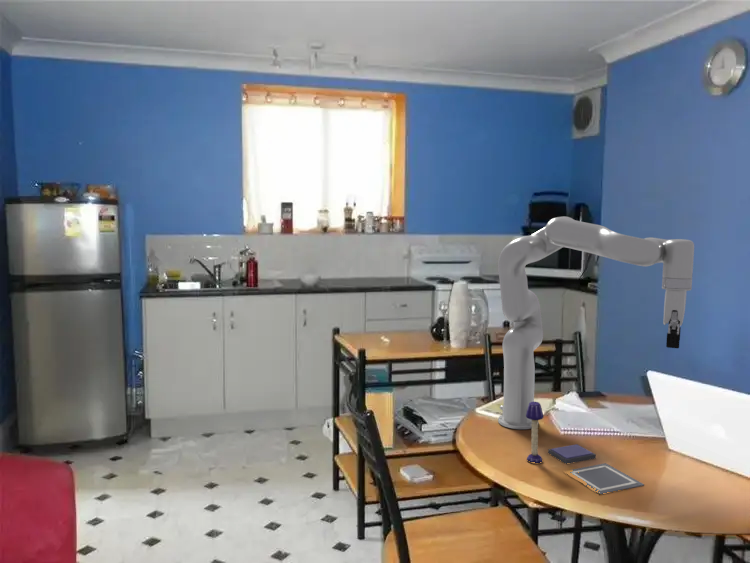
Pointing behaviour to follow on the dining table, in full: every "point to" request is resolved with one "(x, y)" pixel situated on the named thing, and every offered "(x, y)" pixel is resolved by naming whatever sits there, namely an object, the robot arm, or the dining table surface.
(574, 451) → the ink pad
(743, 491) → the dining table surface
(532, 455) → the toy lamp
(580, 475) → the marked board
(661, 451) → the dining table surface
